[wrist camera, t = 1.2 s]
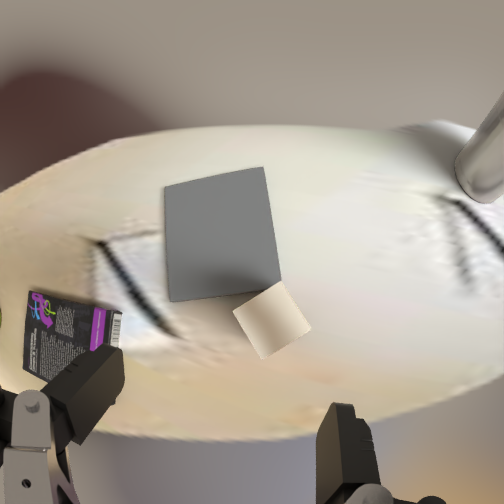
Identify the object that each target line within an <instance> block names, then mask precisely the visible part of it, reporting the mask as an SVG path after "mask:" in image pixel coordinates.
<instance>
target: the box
mask: <svg viewBox="0 0 504 504" xmlns="http://www.w3.org/2000/svg"><path fill="white" fill-rule="evenodd" d="M121 318H122V312H119V311H114V310H109V309H104V308H100V307H95V306H90V305H86V304H81V303H77V302H72V301H68V300H64V299H60V298H56V297H52V296H48V295H44V294H41V293H37V292H33V291H29V294H28V304H27V313H26V320H25V333H24V352H23V353H24V354H23V369H24V370H25V371H27V372H29V373H31V374H33V375H34V376H36V377H38V378H40V379H42V380H44V381H46V382H47V383H49V382H50V381H51V380H52V379H53V378H54V377H55V376H56V375H57V374H58V373H59V372H60V371H61V370H64V368H65V367H66V366H67V365H68V364H70V363H71V361H72V360H73V359H74V358H75V357H77V356H78V355H79V354H81V353H84V352H86V351H88V350H91V351H94V350H95V349H96V348H97V347H99V346H100V345H101V344H102V343H107V344H109V345H112V346H114V347H117V348H118V346H119V336H120V327H121ZM114 404H115V400H114V401H113V403H112V404H111V405H114ZM111 405H110V406H111Z"/></svg>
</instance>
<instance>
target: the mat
mask: <svg viewBox="0 0 504 504" xmlns="http://www.w3.org/2000/svg"><path fill="white" fill-rule="evenodd" d="M165 220H166V247H167V267H168V282H169V295H170V302H180V301H189V300H197V299H205V298H212V297H220V296H227V295H234V294H242V293H249V292H256V291H262V290H267V289H268V288H270V287H272V286H273V285H275V284H276V283H278V282H280V281H282V280H281V273H280V267H279V260H278V253H277V247H276V240H275V234H274V228H273V221H272V215H271V209H270V203H269V197H268V191H267V185H266V179H265V173H264V168H263V167H258V168H252V169H247V170H242V171H236V172H231V173H226V174H221V175H217V176H212V177H207V178H202V179H198V180H193V181H189V182H185V183H180V184H176V185H172V186H168V187H165Z"/></svg>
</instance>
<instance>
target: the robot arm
mask: <svg viewBox="0 0 504 504" xmlns="http://www.w3.org/2000/svg"><path fill="white" fill-rule="evenodd" d="M455 173H456V176H457V179H458V181H459V183H460V185H461V186H462V188H463V189H464V191H465V192H466V193H467V194H468V195H469V196H470V197H471V198H473V199H474V200H476V201H477V202H480V203H484V204H488V203H492V202H494V201H495V200H496V199H497V198H499V197H500V196H501V195H503V194H504V92H503V93H502V95H501V96H500V98H499V99H498V101H497V102H496V104H495V105H494V107H493V108H492V110H491V111H490V113H489V114H488V115H487V117H486V118H485V120H484V121H483V122H482V124H481V125H480V127H479V128H478V129H477V131H476V132H475V133H474V135H473V136H472V137H471V139H470V140H469V141H468V143H467V144H466V145H465V147H464V148H463V149H462V151H461V152H460V153H459V154H458V156H457V157H456V160H455ZM124 381H125V375H124V364H123V352H122V350H121V349H119V348H117V347H114V346H112V345H109V344H107V343H102V344H101V345H100V346H99V347H97V348H96V349H95V350H94V351H91V350H88V351H86V352H84V353H81V354H79V355H78V356H77V357H75V358H74V359H73V360H72V361H71V363H70V364H68V365H67V366H66V367H65V368H64V370H61V371H60V372H59V373H58V374H57V375H56V376H55V377H54V378H53V379H52V380H51V381H50V382H49V383H48V384H47V385H46V386H45V387H44V388H43V389H41V390H40V391H37V390H26V391H23V392H21V393H20V394H19V395H18V394H15V393H12V392H9V391H6V390H3V389H2V388H1V386H0V467H1V466H2V465H3V467H4V494H5V504H80V502H79V499H78V496H77V494H76V491H75V489H74V484H73V479H72V473H71V467H70V461H69V453H68V448H67V445H68V444H69V442H70V441H71V440H72V441H73V442H75V443H77V444H79V445H81V444H82V443H83V442H84V440H85V439H86V437H87V436H88V435H89V433H90V432H91V431H92V429H93V428H94V427H95V425H96V424H97V423H98V421H99V420H100V419H101V417H102V416H103V415H104V413H105V412H106V411H107V409H108V408H109V407H110V405H111V404H112V403H113V401H114V400H115V399H116V397H117V396H118V395H119V393H120V392H121V390H122V388H123V386H124ZM316 504H446V502H445V501H444V500H442V499H441V498H439V497H436V496H428V497H424V498H422V499H421V500H420V501H419V502H418V503H414V502H409V501H403V500H398V499H395V498H393V497H392V495H391V493H390V492H389V491H388V490H387V489H386V488H385V487H383V486H382V485H381V482H380V478H379V472H378V465H377V461H376V455H375V451H374V444H373V442H372V435H371V430H370V428H369V426H368V425H367V424H366V422H365V421H364V419H360V418H356V416H355V410H354V406H353V405H352V404H344V403H335V402H333V403H332V404H331V405H330V407H329V409H328V412H327V414H326V416H325V418H324V420H323V421H322V423H321V425H320V427H319V430H318V433H317V437H316Z"/></svg>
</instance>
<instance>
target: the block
mask: <svg viewBox="0 0 504 504" xmlns="http://www.w3.org/2000/svg"><path fill="white" fill-rule="evenodd" d="M232 312H233V313H234V315H235V317H236V318H237V320H238V322H239V323H240V325H241V327H242V328H243V330H244V332H245V333H246V335H247V337H248V338H249V340H250V342H251V343H252V345H253V346H254V348H255V350H256V351H257V353H258V355H259V356H260V358H261V359H262V360H263V359H264V358H266V357H268V356H270V355H271V354H273V353H275V352H276V351H278V350H280V349H281V348H283V347H285V346H286V345H288V344H289V343H291V342H293V341H294V340H296V339H298V338H299V337H301V336H302V335H304V334H305V333H307V332H309V331H310V330H312V328H311V327H310V325H309V324H308V322H307V321H306V319H305V317H304V316H303V314H302V313H301V311H300V310H299V308H298V306H297V305H296V303H295V302H294V300H293V299H292V297H291V295H290V294H289V292H288V291H287V289H286V288H285V286H284V285H283V283H282V281H280V282H278V283H276V284H275V285H273V286H272V287H270V288H268V289H267V290H265V291H264V292H262V293H261V294H259V295H257V296H256V297H254V298H253V299H251V300H249V301H248V302H246V303H244V304H243V305H241V306H240V307H238V308H236V309H235V310H233V311H232Z"/></svg>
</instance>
